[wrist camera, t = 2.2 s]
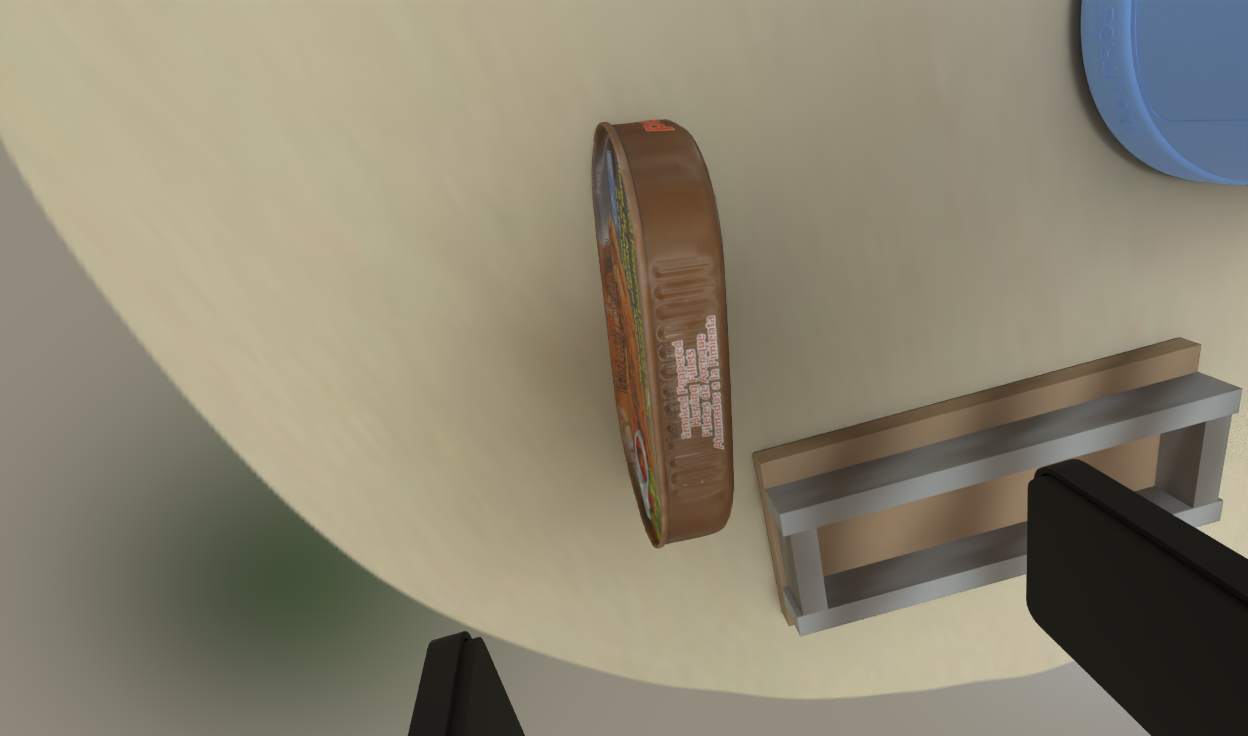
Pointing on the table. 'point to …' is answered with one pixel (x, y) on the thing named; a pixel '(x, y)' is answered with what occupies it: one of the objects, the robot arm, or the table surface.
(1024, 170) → the table surface
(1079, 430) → the wooden tray
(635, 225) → the tin
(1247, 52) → the water jug
